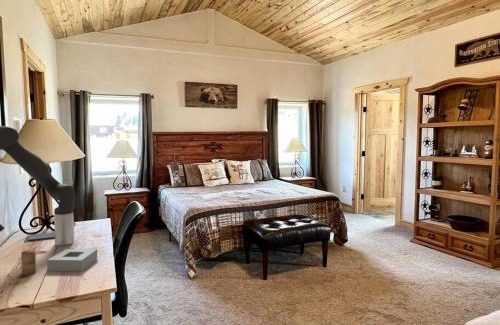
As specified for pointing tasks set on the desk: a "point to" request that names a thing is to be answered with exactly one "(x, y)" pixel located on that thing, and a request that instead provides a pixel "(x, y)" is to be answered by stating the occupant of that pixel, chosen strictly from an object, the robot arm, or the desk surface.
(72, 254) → the socket block
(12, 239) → the desk surface
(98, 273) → the desk surface
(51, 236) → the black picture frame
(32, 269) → the peg
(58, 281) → the desk surface
